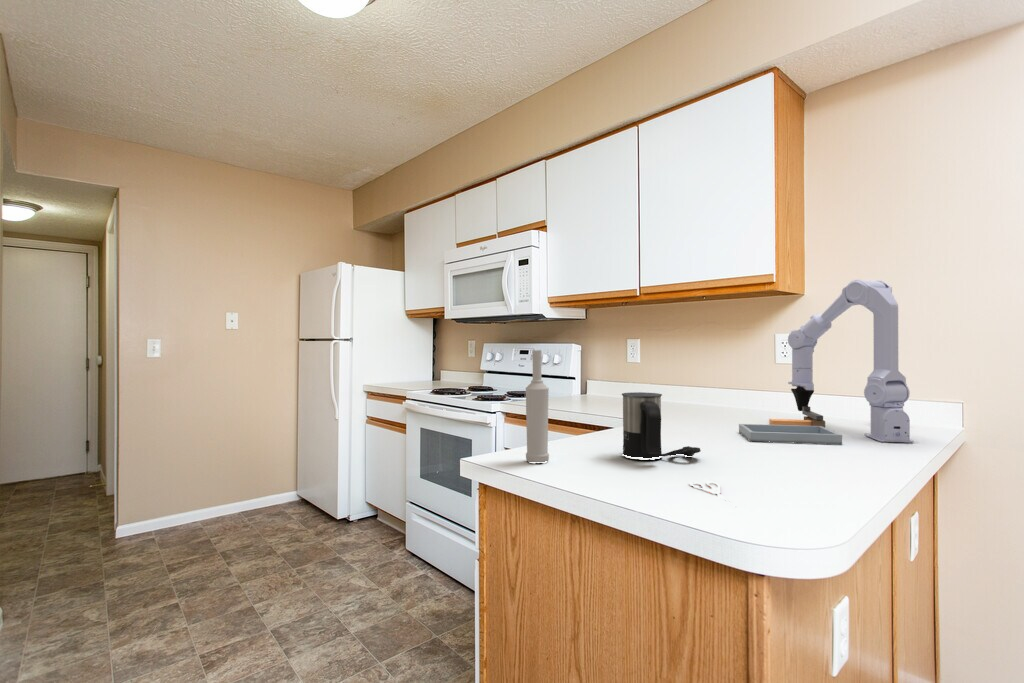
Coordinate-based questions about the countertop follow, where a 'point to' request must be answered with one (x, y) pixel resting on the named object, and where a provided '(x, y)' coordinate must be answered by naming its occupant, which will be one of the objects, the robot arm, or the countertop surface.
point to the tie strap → (811, 413)
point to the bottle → (537, 414)
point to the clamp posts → (815, 421)
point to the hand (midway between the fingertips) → (802, 410)
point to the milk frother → (645, 426)
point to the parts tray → (789, 433)
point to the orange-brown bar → (790, 422)
